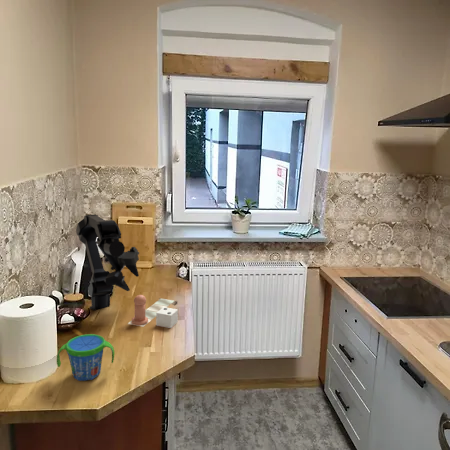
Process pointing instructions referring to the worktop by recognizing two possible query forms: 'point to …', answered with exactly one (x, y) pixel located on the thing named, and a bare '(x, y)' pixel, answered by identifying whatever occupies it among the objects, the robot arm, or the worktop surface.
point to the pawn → (140, 311)
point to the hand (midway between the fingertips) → (133, 283)
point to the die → (167, 317)
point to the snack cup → (85, 355)
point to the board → (156, 309)
